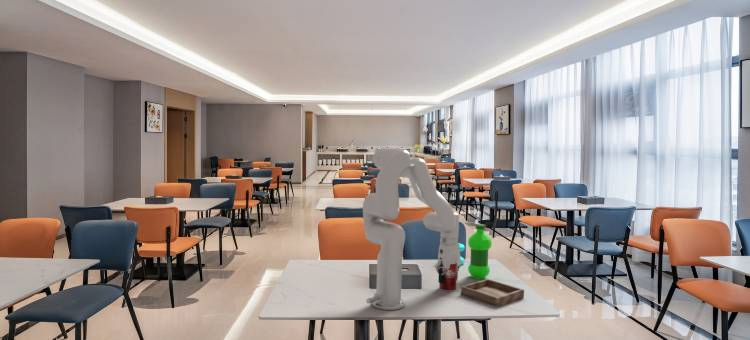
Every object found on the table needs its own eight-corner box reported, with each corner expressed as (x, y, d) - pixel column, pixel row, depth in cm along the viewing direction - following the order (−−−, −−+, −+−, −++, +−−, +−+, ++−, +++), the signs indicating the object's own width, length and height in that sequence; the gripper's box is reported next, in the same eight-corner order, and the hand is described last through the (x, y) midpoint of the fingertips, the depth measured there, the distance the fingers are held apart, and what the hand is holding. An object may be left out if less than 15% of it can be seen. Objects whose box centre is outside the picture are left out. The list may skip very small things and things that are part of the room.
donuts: (446, 241, 245) (465, 243, 243) (445, 260, 246) (464, 261, 243) (444, 245, 235) (464, 247, 233) (444, 264, 236) (463, 266, 234)
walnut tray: (497, 307, 176) (497, 298, 175) (460, 294, 189) (461, 286, 189) (523, 298, 187) (524, 289, 187) (487, 286, 201) (487, 278, 201)
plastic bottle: (492, 276, 216) (494, 224, 215) (484, 282, 207) (486, 227, 206) (472, 273, 222) (474, 222, 220) (464, 278, 213) (465, 225, 211)
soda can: (456, 292, 192) (457, 264, 191) (438, 291, 193) (439, 263, 193) (456, 287, 199) (457, 260, 198) (439, 285, 200) (440, 258, 200)
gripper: (442, 245, 186) (440, 287, 188) (469, 240, 198) (467, 280, 199) (428, 241, 192) (427, 283, 193) (455, 237, 203) (454, 276, 204)
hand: (448, 281), depth 196 cm, fingers closed on soda can, 7 cm apart
